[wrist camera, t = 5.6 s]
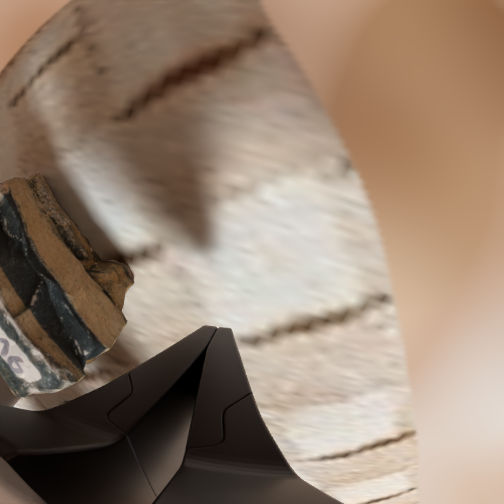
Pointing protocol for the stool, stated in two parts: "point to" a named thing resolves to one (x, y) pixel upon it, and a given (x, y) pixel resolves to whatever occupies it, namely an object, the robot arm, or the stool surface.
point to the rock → (52, 292)
